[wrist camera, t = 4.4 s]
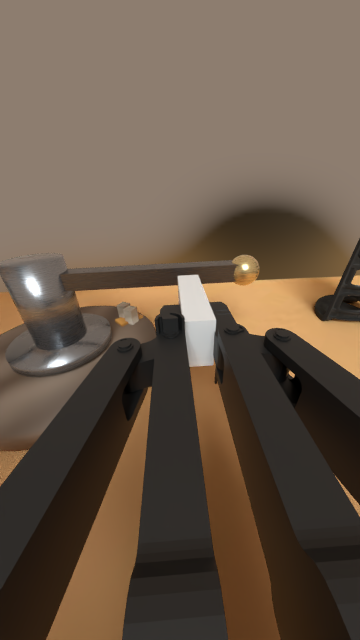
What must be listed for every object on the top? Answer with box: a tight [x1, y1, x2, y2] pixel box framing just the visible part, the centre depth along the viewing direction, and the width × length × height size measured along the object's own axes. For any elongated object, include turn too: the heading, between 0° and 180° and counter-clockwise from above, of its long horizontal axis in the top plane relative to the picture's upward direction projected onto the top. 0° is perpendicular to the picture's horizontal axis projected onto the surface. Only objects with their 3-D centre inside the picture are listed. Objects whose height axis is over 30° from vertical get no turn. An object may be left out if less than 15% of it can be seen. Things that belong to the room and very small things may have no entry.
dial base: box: [0, 302, 156, 451], centre depth 22 cm, size 20×20×4 cm
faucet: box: [0, 253, 259, 377], centre depth 20 cm, size 25×10×9 cm, turn 93°
